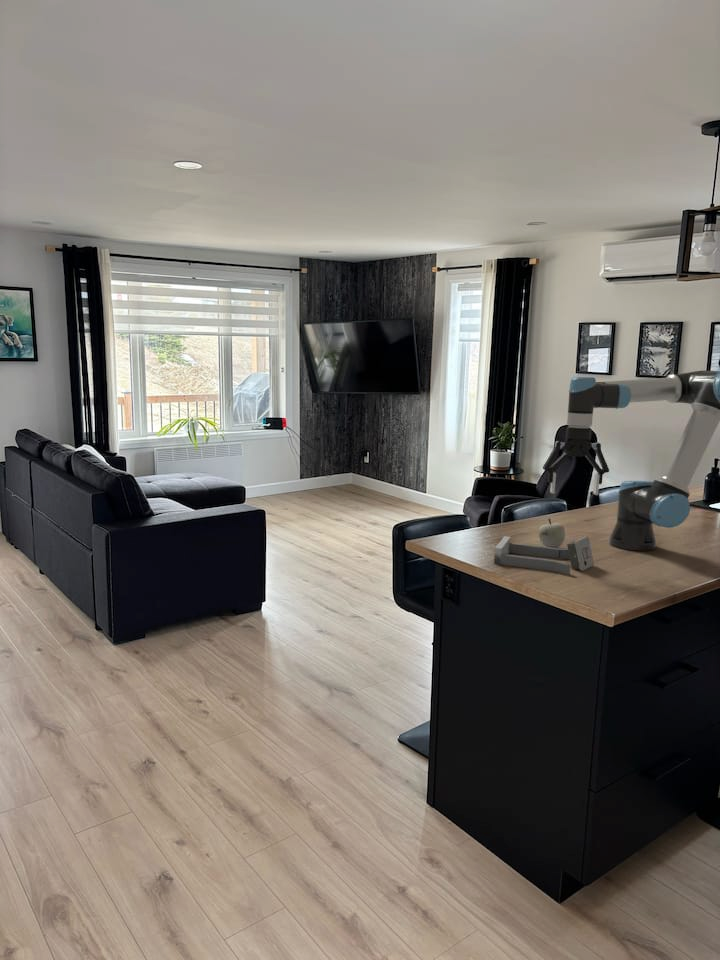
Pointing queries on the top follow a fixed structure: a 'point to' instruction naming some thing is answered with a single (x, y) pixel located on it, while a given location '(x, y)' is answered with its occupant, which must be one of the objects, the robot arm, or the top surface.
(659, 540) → the top surface
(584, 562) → the electrical switch
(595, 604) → the top surface
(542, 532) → the decorative object
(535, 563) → the rail channel
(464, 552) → the top surface
